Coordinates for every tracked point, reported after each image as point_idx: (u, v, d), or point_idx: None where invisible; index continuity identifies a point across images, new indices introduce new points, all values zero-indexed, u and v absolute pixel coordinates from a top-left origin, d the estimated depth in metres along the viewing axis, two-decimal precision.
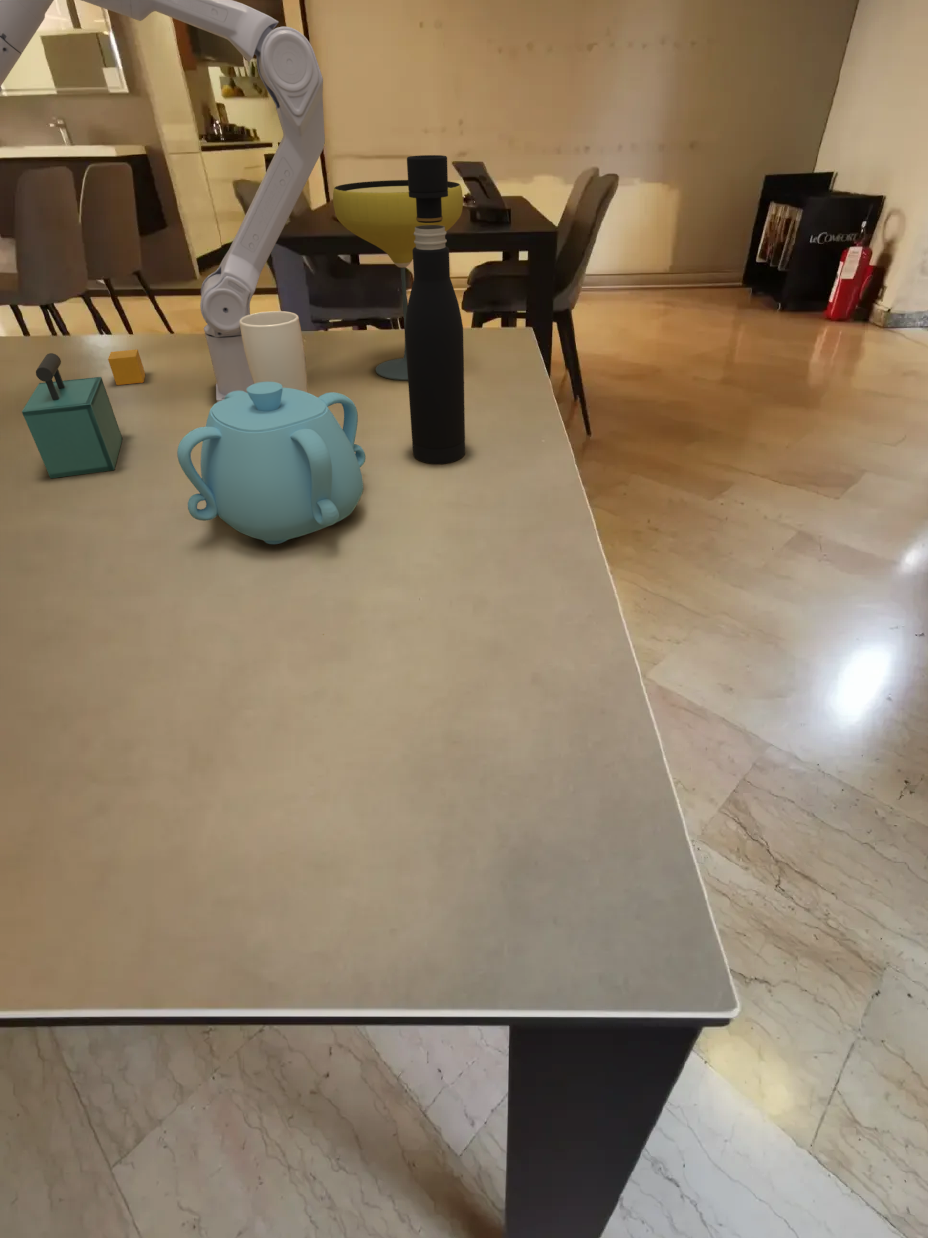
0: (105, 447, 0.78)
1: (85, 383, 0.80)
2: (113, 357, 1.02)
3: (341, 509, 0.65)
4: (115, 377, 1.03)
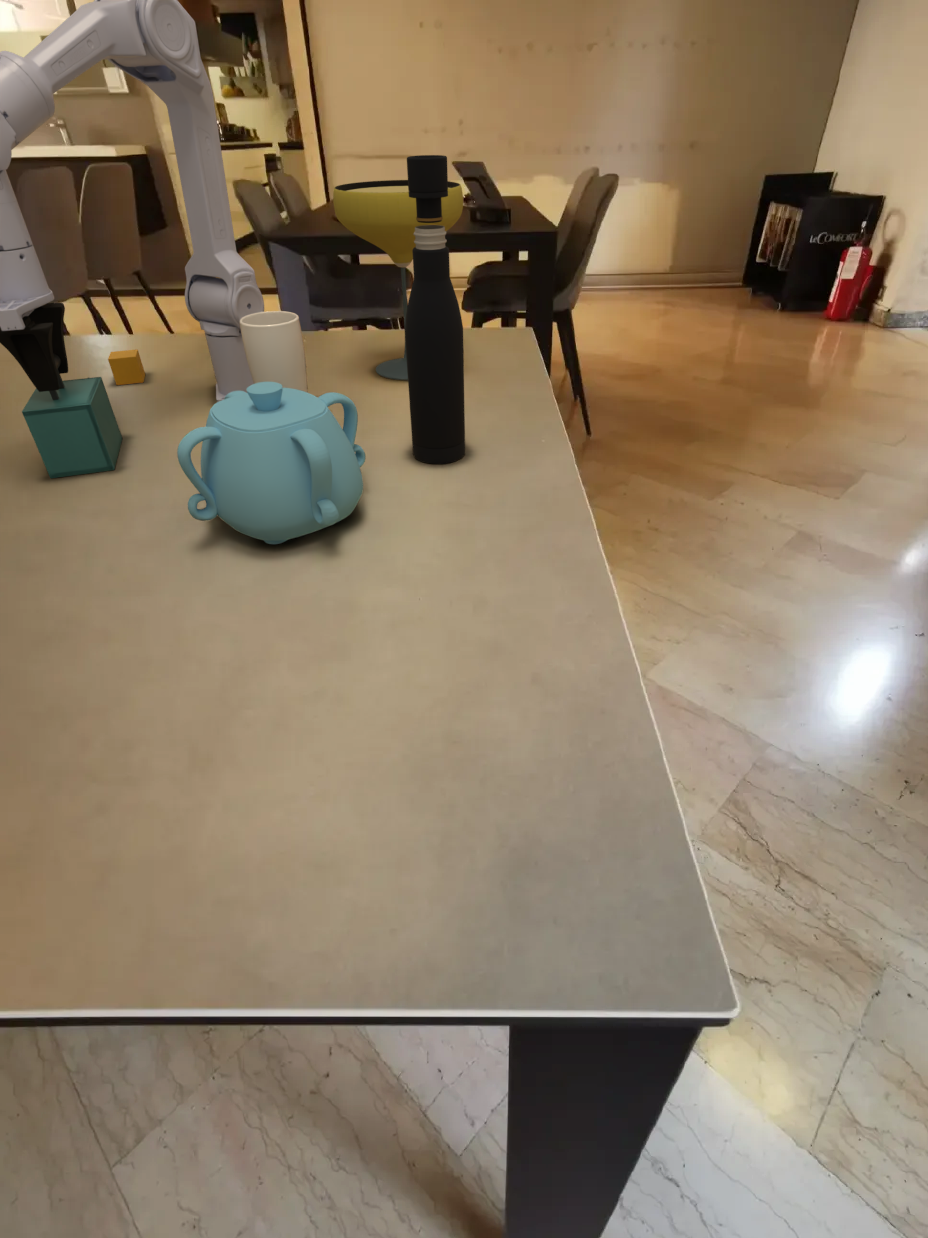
0: (105, 447, 0.78)
1: (85, 383, 0.80)
2: (113, 357, 1.02)
3: (341, 509, 0.65)
4: (115, 377, 1.03)
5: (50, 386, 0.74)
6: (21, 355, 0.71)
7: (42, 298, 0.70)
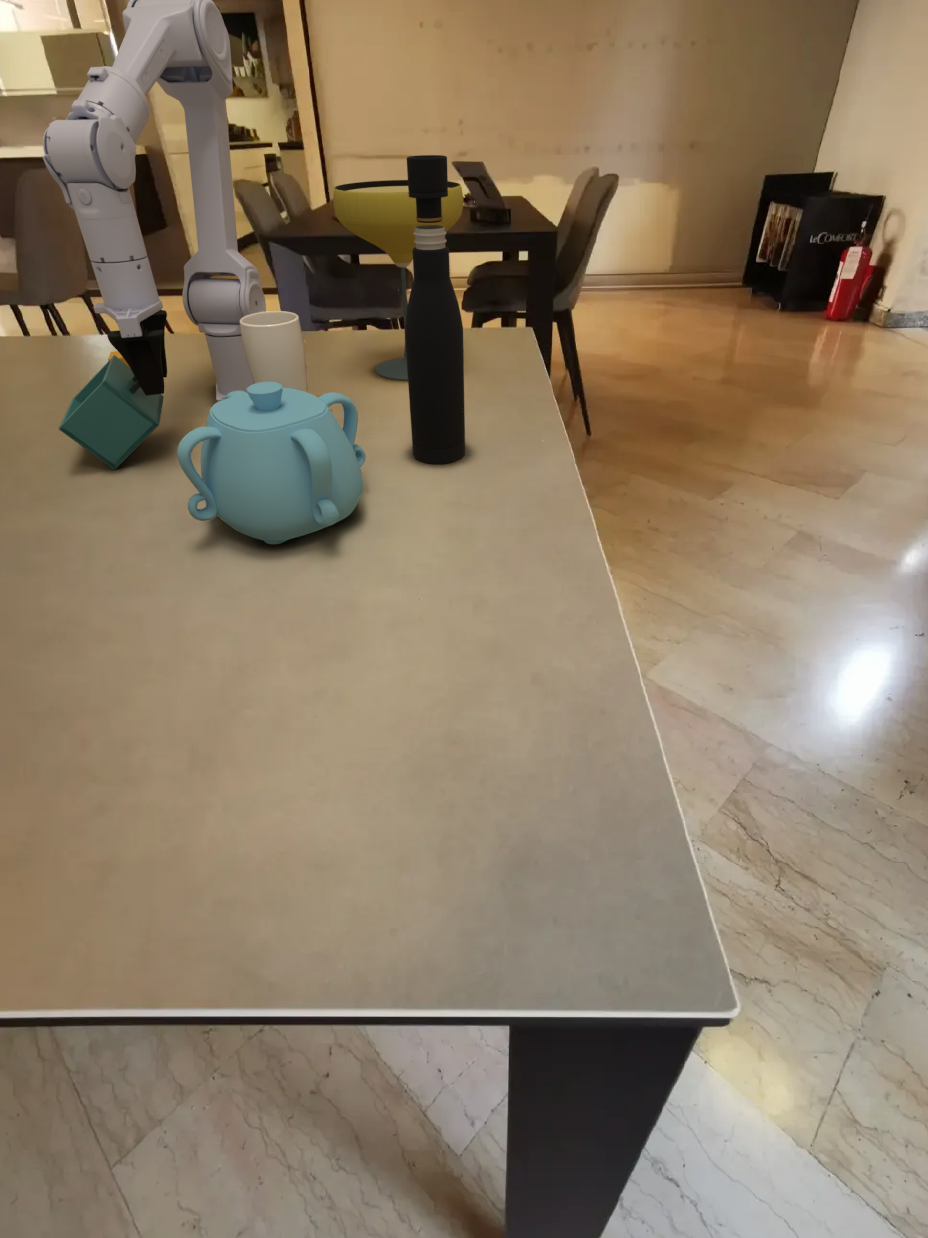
0: (129, 453, 0.79)
1: None
2: None
3: (341, 509, 0.65)
4: None
5: (156, 390, 0.77)
6: (133, 360, 0.74)
7: (154, 306, 0.73)
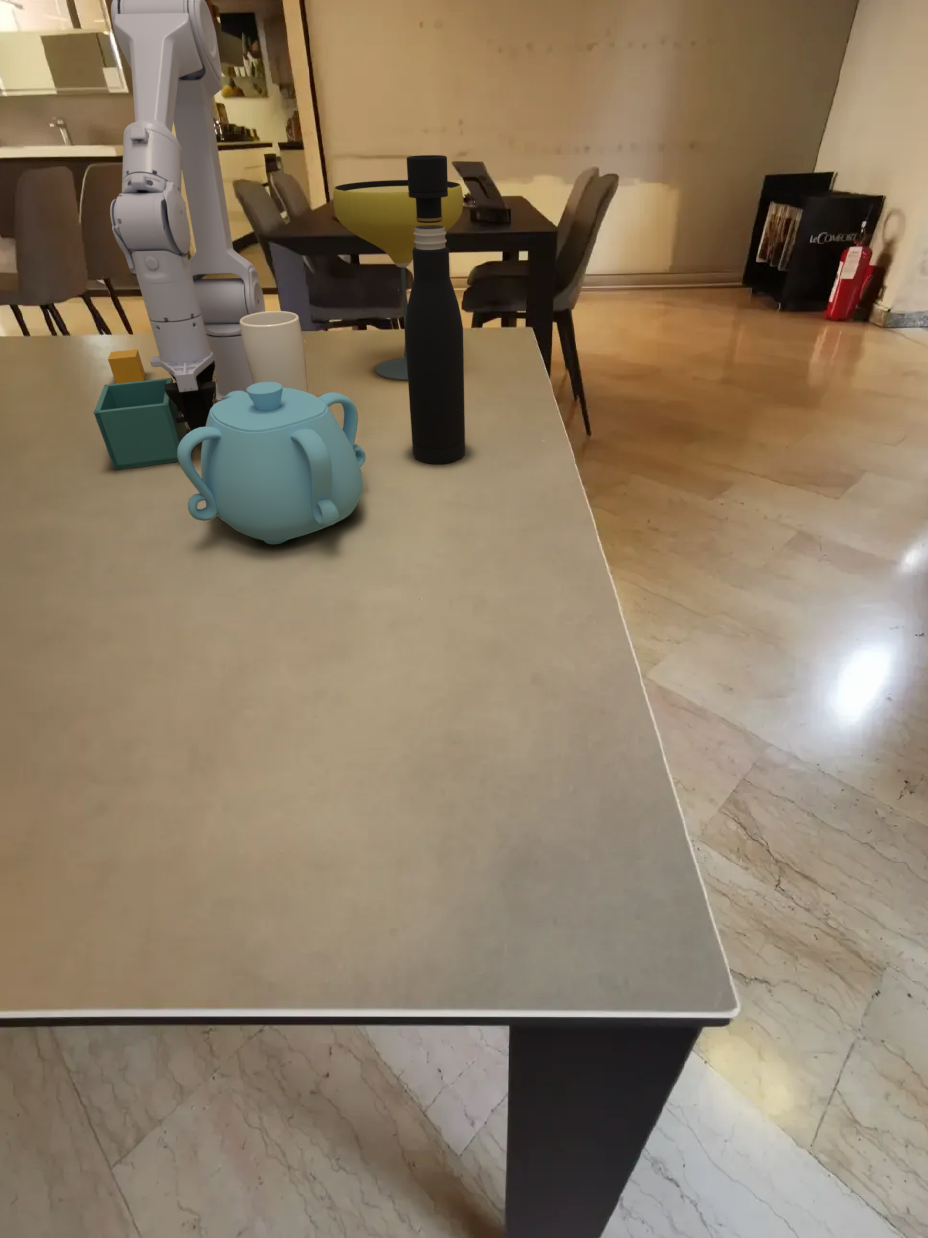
0: (139, 465, 0.80)
1: (183, 425, 0.86)
2: (113, 357, 1.02)
3: (341, 509, 0.65)
4: (115, 377, 1.03)
5: None
6: (186, 410, 0.79)
7: (207, 360, 0.78)
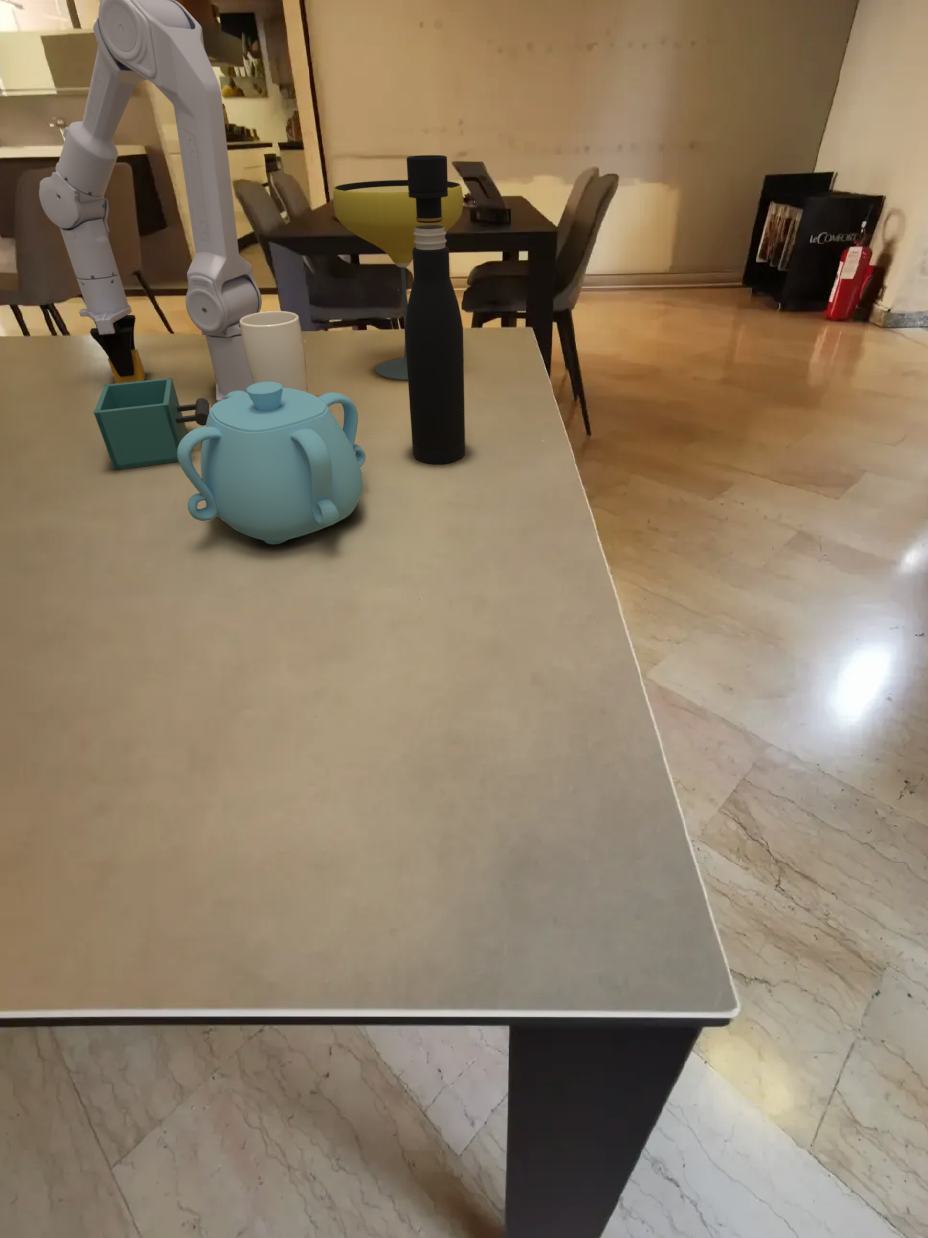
0: (139, 465, 0.80)
1: (183, 425, 0.86)
2: None
3: (341, 509, 0.65)
4: (115, 377, 1.03)
5: (128, 372, 1.03)
6: (109, 350, 1.00)
7: (125, 311, 0.98)
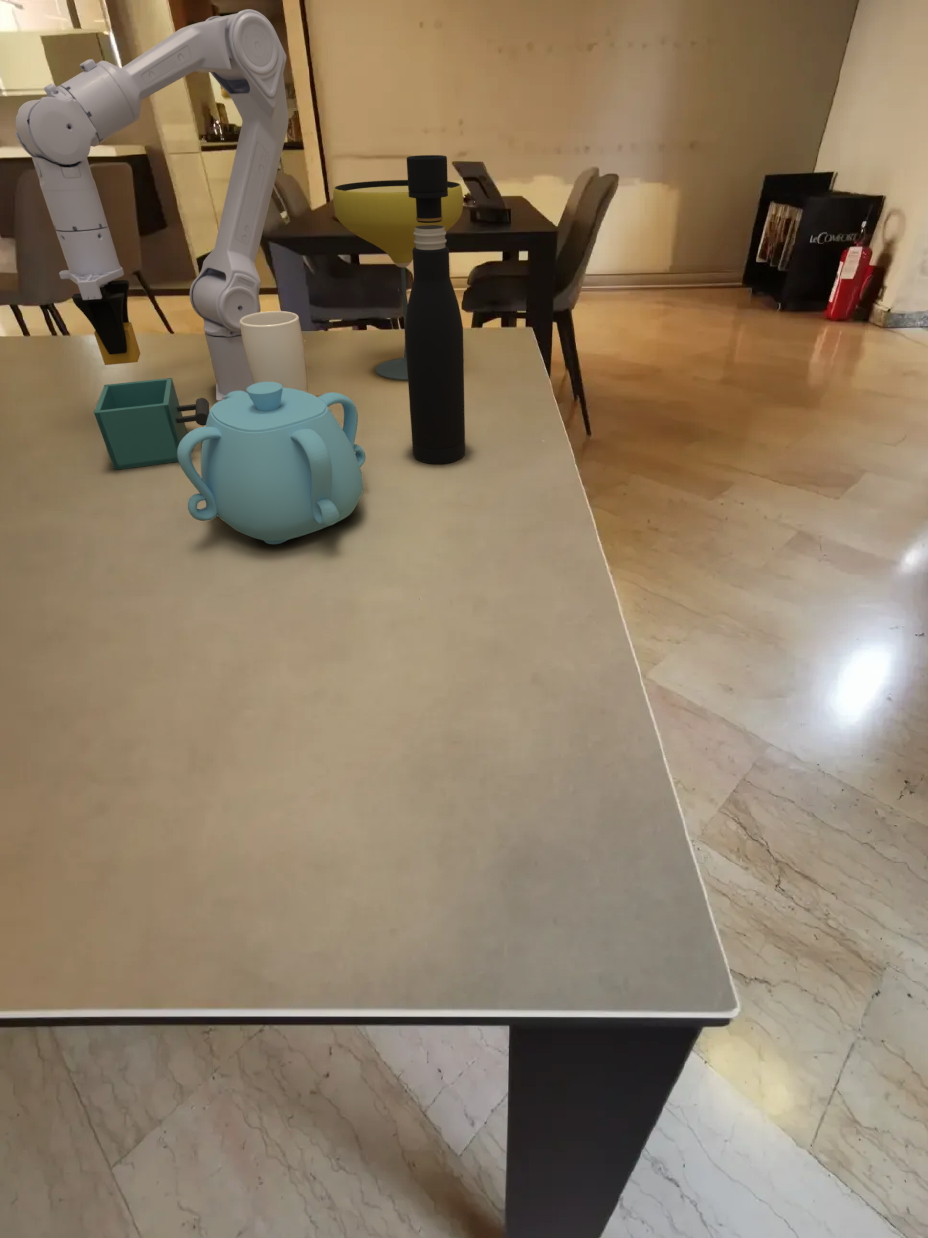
0: (139, 465, 0.80)
1: (183, 425, 0.86)
2: None
3: (341, 509, 0.65)
4: (103, 355, 0.85)
5: (119, 349, 0.85)
6: (96, 321, 0.82)
7: (115, 273, 0.80)
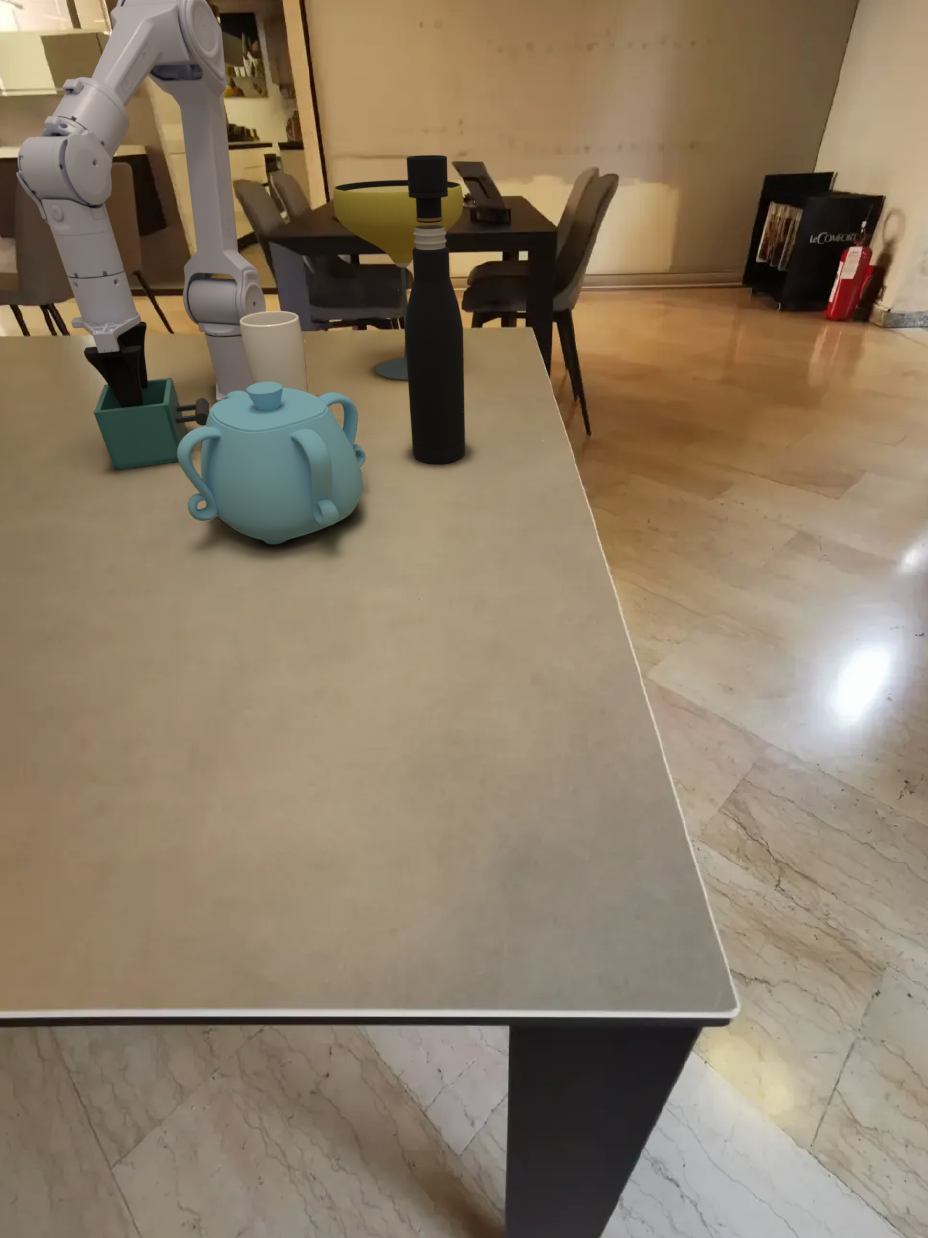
0: (139, 465, 0.80)
1: (183, 425, 0.86)
2: None
3: (341, 509, 0.65)
4: None
5: (135, 405, 0.77)
6: (110, 376, 0.74)
7: (132, 320, 0.74)
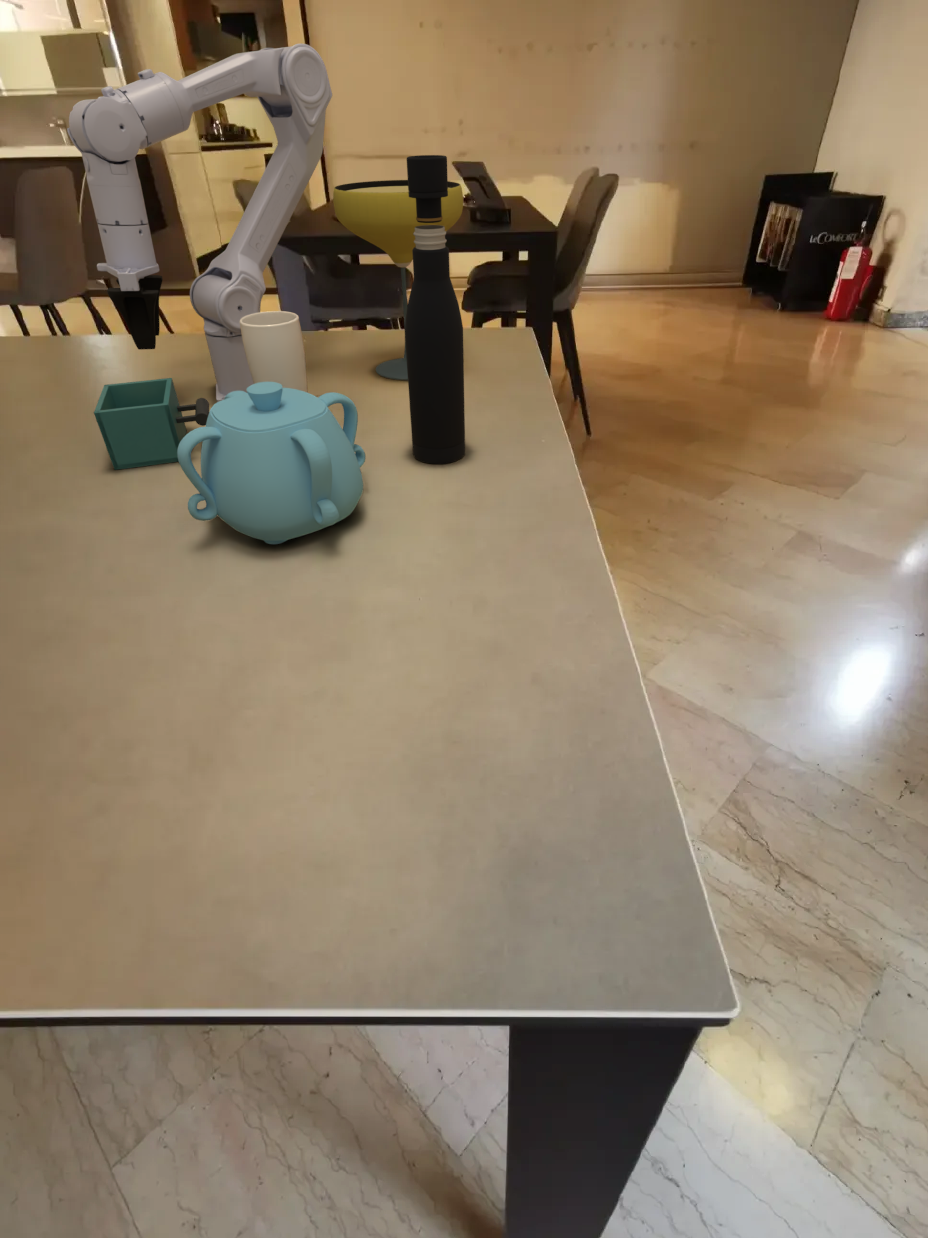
0: (139, 465, 0.80)
1: (183, 425, 0.86)
2: None
3: (341, 509, 0.65)
4: None
5: (148, 345, 0.85)
6: (128, 316, 0.83)
7: (152, 268, 0.83)
